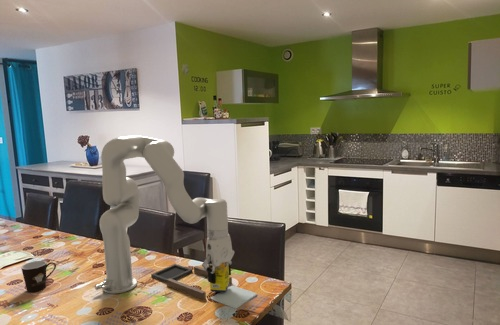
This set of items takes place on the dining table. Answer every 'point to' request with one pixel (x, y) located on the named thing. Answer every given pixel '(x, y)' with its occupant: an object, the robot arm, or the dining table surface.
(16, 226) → the dining table surface
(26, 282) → the coffee mug
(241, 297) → the pad
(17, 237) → the dining table surface
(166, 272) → the tray
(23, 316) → the dining table surface
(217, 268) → the supplement box
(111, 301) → the dining table surface
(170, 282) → the wooden bars
